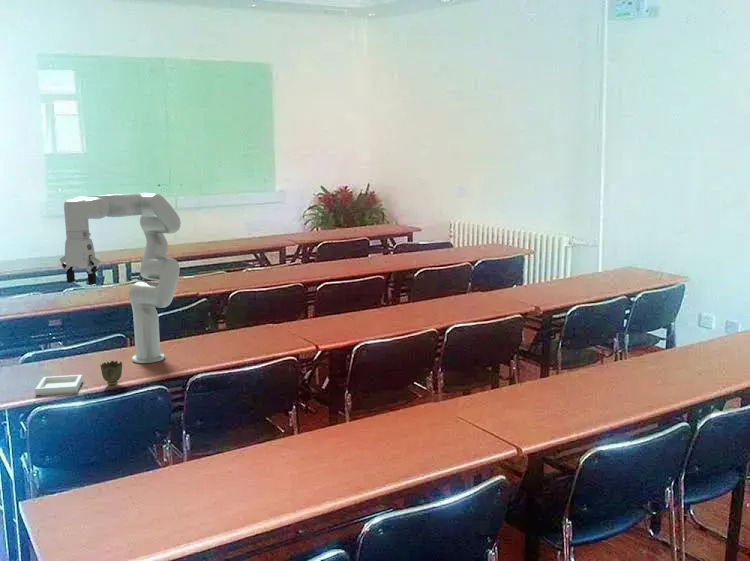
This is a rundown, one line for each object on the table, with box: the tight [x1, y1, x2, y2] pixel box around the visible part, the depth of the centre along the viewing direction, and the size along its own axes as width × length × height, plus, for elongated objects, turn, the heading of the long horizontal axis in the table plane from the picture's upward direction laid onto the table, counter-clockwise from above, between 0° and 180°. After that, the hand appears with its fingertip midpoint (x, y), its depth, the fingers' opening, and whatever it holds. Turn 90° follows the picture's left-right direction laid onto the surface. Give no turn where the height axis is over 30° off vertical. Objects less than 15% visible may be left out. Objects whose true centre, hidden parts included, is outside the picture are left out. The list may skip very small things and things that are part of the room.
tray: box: [34, 374, 84, 396], centre depth 269 cm, size 13×13×2 cm
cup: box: [100, 360, 123, 387], centre depth 272 cm, size 8×7×8 cm
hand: (81, 283), depth 267 cm, fingers open, 9 cm apart
